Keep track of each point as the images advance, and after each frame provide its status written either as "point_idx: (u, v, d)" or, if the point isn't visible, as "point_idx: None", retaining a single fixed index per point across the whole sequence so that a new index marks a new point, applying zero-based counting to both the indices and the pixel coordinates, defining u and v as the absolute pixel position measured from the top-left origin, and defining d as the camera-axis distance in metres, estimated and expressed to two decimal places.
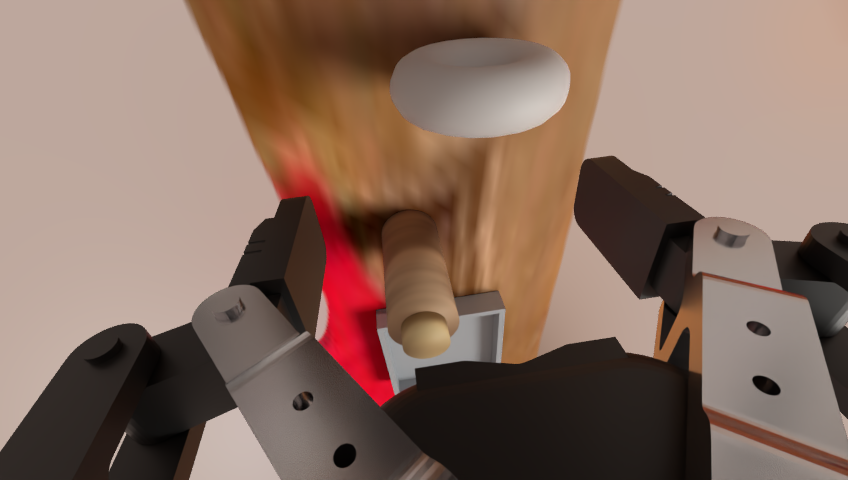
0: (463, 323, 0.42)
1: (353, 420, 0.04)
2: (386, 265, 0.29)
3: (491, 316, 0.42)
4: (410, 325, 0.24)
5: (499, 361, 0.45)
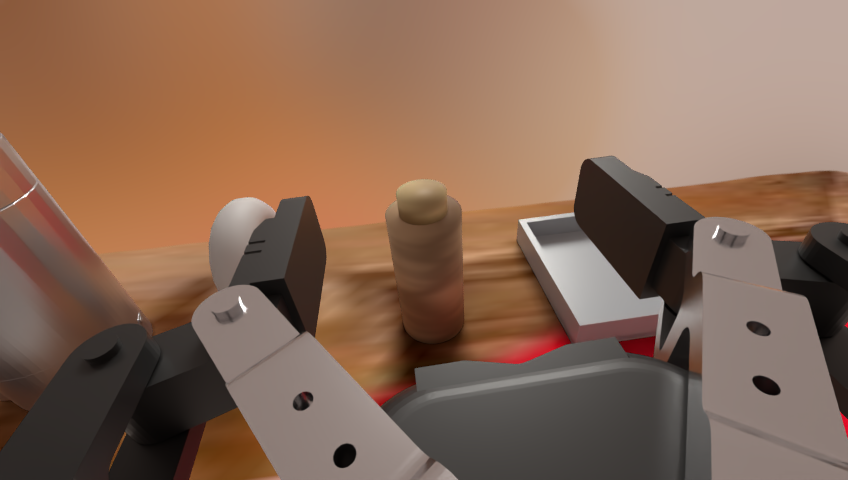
0: (572, 255, 0.35)
1: (353, 420, 0.04)
2: (414, 294, 0.26)
3: (553, 235, 0.37)
4: (403, 211, 0.23)
5: None
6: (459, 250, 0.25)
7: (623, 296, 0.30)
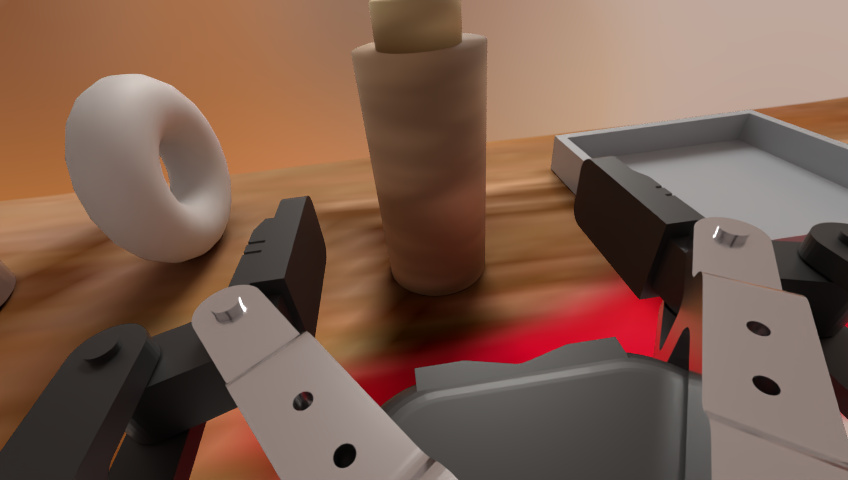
0: None
1: (353, 420, 0.04)
2: (406, 202, 0.15)
3: None
4: (381, 28, 0.13)
5: (692, 118, 0.26)
6: (482, 118, 0.14)
7: None
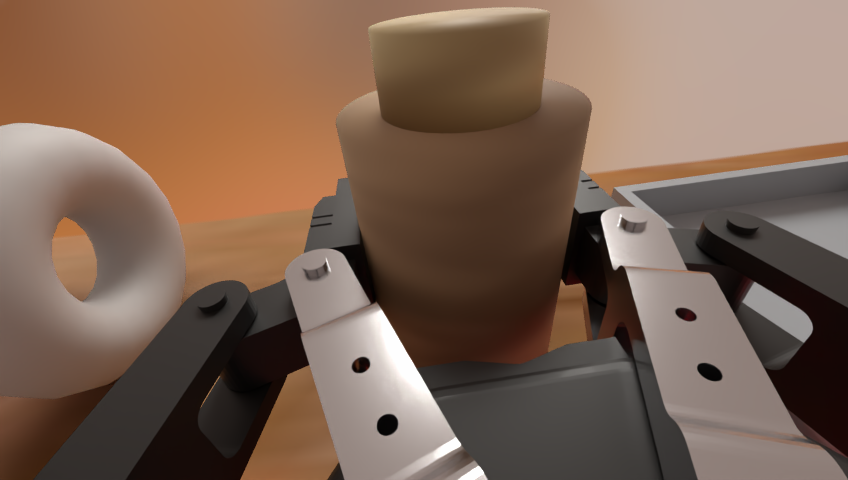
0: None
1: (401, 394, 0.04)
2: (430, 361, 0.09)
3: (675, 217, 0.20)
4: (393, 84, 0.06)
5: (792, 164, 0.20)
6: None
7: None
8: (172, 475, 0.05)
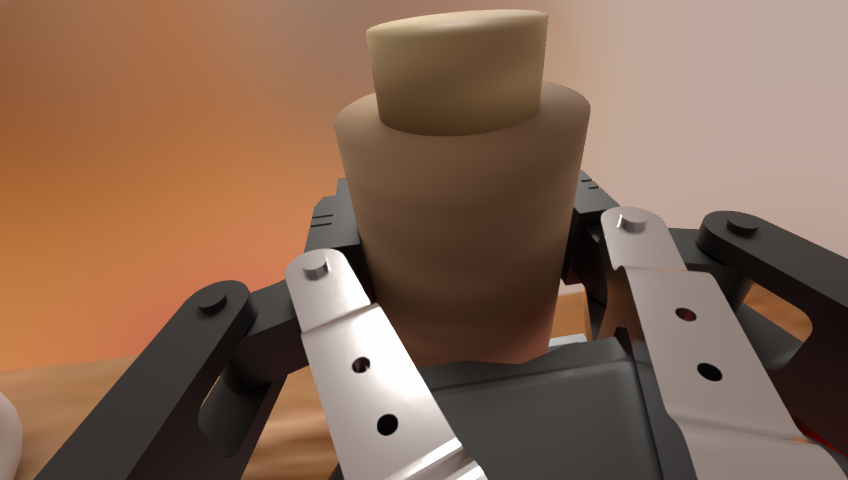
0: None
1: (401, 394, 0.04)
2: (429, 364, 0.09)
3: None
4: (391, 86, 0.06)
5: None
6: (568, 233, 0.08)
7: None
8: (172, 475, 0.05)
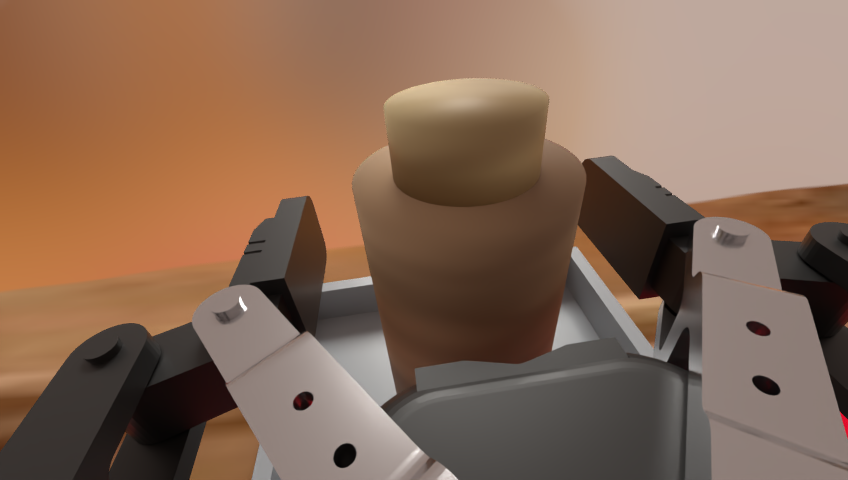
0: (382, 368, 0.17)
1: (353, 420, 0.04)
2: None
3: (371, 315, 0.19)
4: (406, 161, 0.07)
5: None
6: (565, 282, 0.09)
7: None
8: None
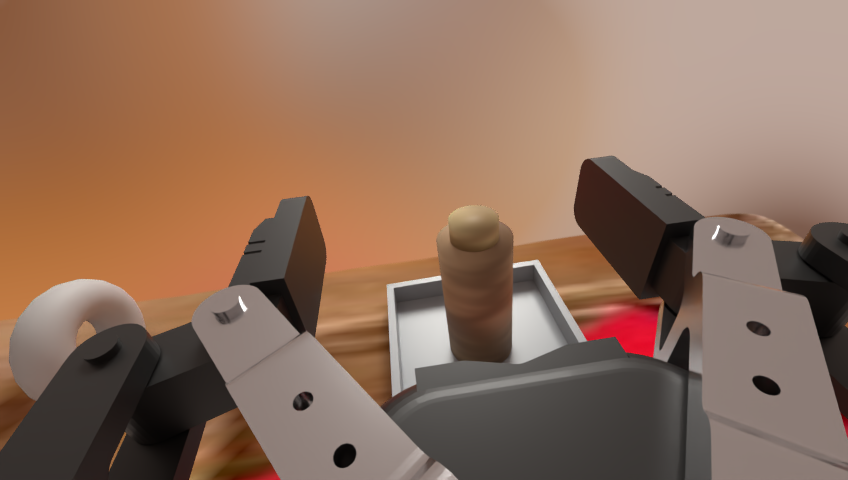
0: (436, 324, 0.33)
1: (353, 420, 0.04)
2: (467, 320, 0.26)
3: (426, 299, 0.35)
4: (456, 238, 0.23)
5: None
6: (511, 274, 0.25)
7: None
8: None
